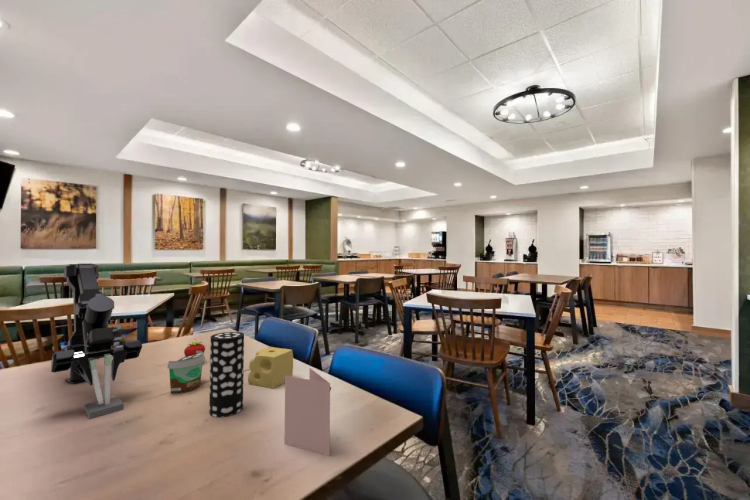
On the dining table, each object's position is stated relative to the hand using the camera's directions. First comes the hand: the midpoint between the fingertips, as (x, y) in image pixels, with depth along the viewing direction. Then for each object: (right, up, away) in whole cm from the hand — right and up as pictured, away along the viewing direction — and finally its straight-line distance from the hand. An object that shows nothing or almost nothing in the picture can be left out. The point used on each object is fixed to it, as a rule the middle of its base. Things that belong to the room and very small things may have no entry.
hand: (102, 382), depth 86 cm
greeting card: (+57, -8, -15) cm, 59 cm away
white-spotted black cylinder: (+32, -8, +2) cm, 33 cm away
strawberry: (+3, -9, +38) cm, 40 cm away
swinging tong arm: (-1, -6, +1) cm, 7 cm away
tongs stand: (-1, -8, +1) cm, 8 cm away
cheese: (+38, -9, +22) cm, 45 cm away
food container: (+14, -9, +16) cm, 23 cm away
